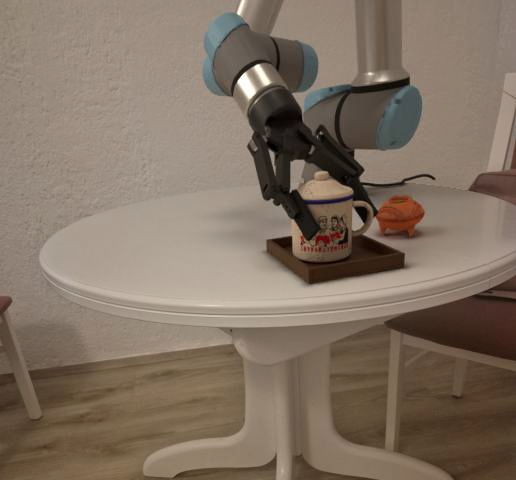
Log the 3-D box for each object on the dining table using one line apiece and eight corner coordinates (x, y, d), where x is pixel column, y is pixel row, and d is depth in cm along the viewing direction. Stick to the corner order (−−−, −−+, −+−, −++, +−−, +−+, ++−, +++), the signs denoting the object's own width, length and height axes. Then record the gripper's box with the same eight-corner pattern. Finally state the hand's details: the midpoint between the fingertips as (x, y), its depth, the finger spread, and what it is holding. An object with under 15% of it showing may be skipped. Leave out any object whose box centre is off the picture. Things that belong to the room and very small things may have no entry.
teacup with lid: (295, 266, 67) (292, 179, 62) (287, 248, 75) (284, 170, 70) (380, 259, 68) (384, 172, 62) (363, 242, 76) (366, 164, 70)
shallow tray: (346, 239, 81) (346, 227, 80) (404, 267, 66) (405, 253, 65) (266, 251, 77) (266, 239, 76) (308, 284, 63) (308, 269, 62)
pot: (436, 231, 80) (434, 192, 76) (400, 250, 78) (396, 211, 74) (402, 221, 86) (398, 185, 83) (368, 239, 84) (363, 202, 81)
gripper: (313, 120, 81) (382, 226, 77) (194, 133, 69) (268, 260, 64) (337, 82, 75) (413, 195, 70) (210, 89, 62) (293, 226, 58)
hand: (344, 226), depth 67 cm, fingers closed on teacup with lid, 11 cm apart
